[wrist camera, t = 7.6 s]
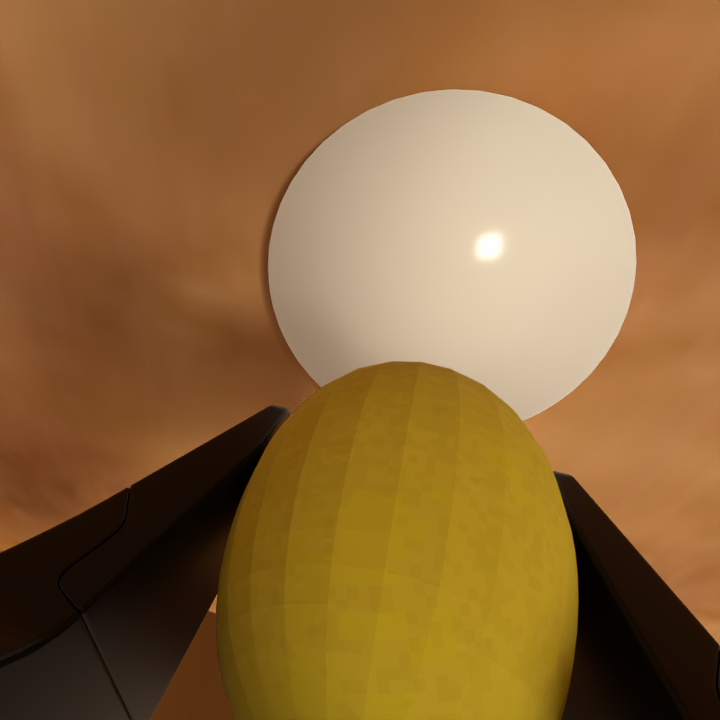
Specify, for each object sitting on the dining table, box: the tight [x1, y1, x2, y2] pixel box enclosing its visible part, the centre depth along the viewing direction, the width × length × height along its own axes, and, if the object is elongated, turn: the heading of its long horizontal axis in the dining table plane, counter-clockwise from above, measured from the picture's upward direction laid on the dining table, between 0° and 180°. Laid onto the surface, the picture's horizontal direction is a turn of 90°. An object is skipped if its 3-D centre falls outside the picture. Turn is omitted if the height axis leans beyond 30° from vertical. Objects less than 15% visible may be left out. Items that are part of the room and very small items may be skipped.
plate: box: [268, 89, 636, 421], centre depth 17 cm, size 14×14×1 cm
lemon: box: [216, 361, 578, 720], centre depth 7 cm, size 6×6×8 cm
